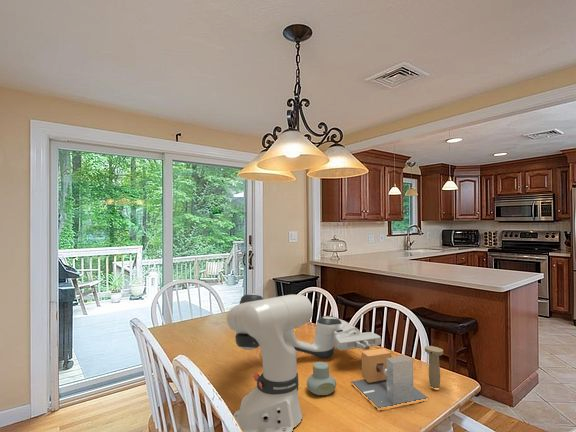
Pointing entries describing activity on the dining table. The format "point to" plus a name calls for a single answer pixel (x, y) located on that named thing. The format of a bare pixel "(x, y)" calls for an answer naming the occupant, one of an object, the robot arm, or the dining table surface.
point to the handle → (434, 365)
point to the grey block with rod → (398, 379)
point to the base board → (381, 392)
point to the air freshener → (321, 380)
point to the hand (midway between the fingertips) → (367, 347)
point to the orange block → (374, 364)
